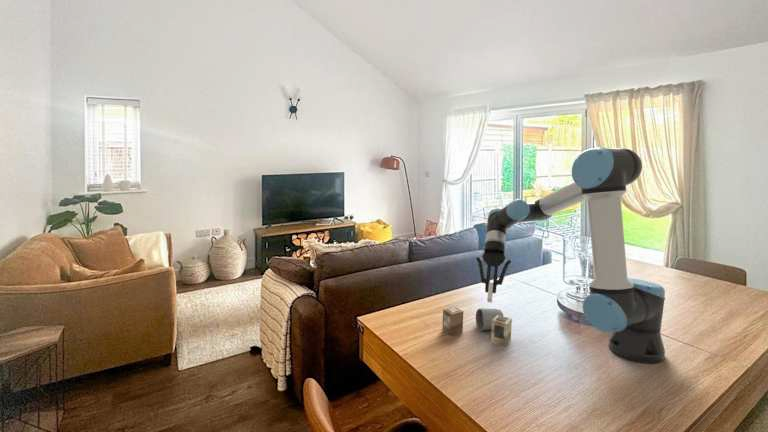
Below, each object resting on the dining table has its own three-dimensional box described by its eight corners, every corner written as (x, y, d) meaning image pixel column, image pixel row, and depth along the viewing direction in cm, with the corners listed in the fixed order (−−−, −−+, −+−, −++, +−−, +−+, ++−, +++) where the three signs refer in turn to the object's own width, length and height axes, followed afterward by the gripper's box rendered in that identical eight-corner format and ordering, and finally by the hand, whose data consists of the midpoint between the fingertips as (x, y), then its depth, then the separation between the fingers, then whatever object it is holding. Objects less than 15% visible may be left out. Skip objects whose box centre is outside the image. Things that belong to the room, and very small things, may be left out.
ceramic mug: (505, 332, 140) (506, 311, 139) (483, 334, 138) (484, 313, 137) (491, 320, 150) (492, 301, 149) (471, 322, 149) (471, 302, 148)
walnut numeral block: (462, 332, 140) (463, 310, 138) (451, 336, 137) (451, 313, 136) (453, 327, 144) (453, 306, 143) (441, 330, 141) (442, 308, 140)
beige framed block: (510, 340, 134) (511, 317, 132) (505, 347, 129) (507, 323, 128) (496, 337, 136) (497, 314, 135) (490, 343, 132) (491, 319, 131)
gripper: (512, 251, 155) (508, 307, 142) (478, 248, 159) (471, 302, 146) (512, 240, 149) (508, 298, 136) (477, 238, 153) (470, 293, 141)
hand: (489, 300), depth 141 cm, fingers closed
